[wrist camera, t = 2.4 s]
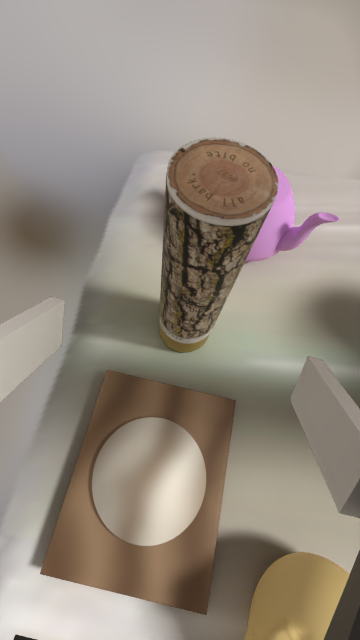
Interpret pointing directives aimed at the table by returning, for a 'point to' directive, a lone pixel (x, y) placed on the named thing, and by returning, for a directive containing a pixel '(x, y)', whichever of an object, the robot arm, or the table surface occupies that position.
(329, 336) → the table surface
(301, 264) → the table surface
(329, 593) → the sculpture
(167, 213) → the paper tube
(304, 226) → the teapot
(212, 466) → the walnut board
